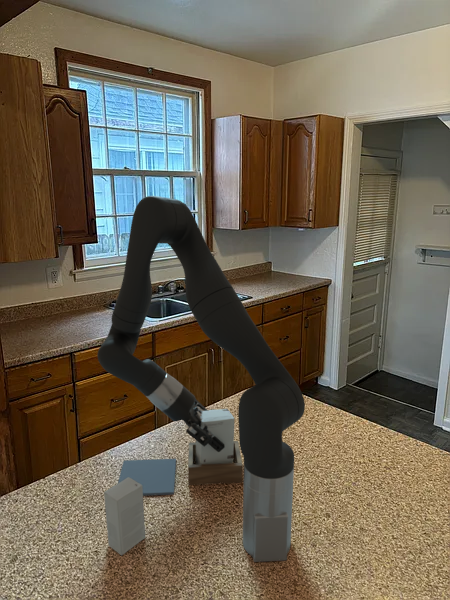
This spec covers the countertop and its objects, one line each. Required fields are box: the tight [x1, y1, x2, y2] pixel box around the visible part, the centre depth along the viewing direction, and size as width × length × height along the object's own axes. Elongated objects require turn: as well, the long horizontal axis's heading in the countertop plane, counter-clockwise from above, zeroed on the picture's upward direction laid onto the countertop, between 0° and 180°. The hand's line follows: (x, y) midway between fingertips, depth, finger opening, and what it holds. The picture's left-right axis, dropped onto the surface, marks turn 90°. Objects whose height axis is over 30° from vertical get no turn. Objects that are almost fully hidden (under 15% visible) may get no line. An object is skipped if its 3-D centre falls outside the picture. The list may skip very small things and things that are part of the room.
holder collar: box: [187, 440, 244, 486], centre depth 109 cm, size 10×12×4 cm
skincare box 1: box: [103, 477, 146, 556], centre depth 86 cm, size 6×4×12 cm
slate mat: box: [117, 458, 177, 497], centre depth 106 cm, size 13×13×1 cm
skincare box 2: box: [195, 408, 235, 465], centre depth 108 cm, size 8×6×15 cm
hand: (221, 440), depth 108 cm, fingers closed on skincare box 2, 6 cm apart
